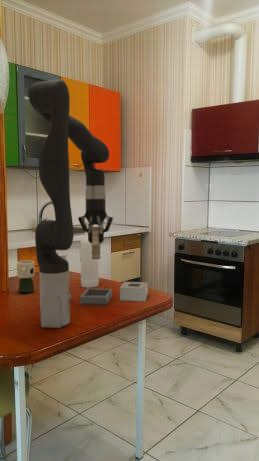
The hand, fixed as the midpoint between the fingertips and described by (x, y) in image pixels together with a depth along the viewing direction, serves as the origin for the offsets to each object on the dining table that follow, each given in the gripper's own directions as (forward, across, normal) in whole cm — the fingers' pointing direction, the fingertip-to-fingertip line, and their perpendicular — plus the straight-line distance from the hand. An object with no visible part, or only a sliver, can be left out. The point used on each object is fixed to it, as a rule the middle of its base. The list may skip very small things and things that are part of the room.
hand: (96, 242), depth 143 cm
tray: (+23, 0, 0) cm, 23 cm away
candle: (+23, -20, +16) cm, 34 cm away
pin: (+6, 0, 0) cm, 6 cm away
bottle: (+23, -8, +22) cm, 33 cm away
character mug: (+23, -32, +8) cm, 40 cm away
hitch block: (+23, +14, +6) cm, 27 cm away
